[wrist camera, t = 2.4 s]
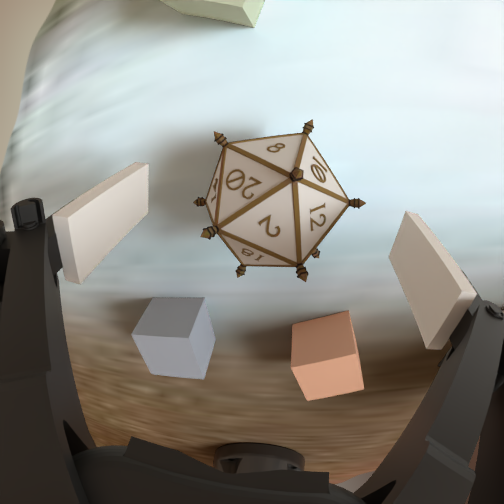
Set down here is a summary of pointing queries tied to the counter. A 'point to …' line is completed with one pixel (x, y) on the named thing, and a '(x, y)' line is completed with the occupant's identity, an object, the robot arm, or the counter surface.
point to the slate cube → (176, 337)
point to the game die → (273, 200)
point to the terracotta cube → (326, 356)
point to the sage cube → (220, 9)
